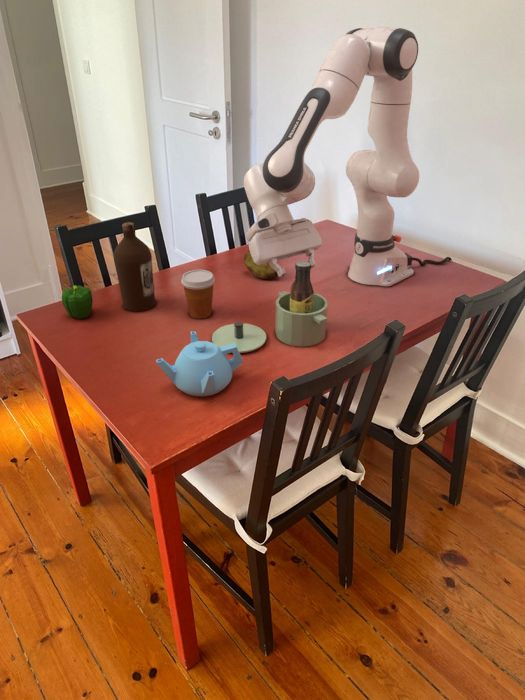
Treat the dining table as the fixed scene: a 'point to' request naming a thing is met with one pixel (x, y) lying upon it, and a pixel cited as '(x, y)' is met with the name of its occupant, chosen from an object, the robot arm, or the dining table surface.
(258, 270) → the potato
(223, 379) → the teapot
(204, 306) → the disposable coffee cup
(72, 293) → the bell pepper
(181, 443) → the dining table surface
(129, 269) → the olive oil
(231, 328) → the lid
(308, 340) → the pot
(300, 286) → the sauce bottle
